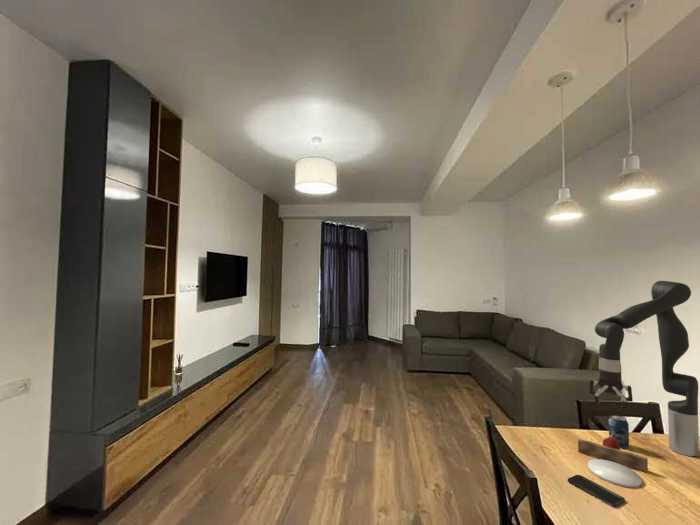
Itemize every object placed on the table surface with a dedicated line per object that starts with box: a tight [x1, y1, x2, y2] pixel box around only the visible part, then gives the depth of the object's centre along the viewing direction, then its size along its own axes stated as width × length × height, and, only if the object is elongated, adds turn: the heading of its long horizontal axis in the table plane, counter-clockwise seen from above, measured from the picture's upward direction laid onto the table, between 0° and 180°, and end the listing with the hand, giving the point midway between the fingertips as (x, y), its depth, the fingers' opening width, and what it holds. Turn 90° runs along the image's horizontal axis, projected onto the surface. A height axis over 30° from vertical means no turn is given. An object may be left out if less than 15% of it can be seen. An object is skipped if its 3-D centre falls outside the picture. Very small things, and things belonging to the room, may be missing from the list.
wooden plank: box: [577, 438, 649, 473], centre depth 131 cm, size 22×2×5 cm, turn 50°
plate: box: [587, 458, 643, 488], centre depth 123 cm, size 16×16×1 cm
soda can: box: [608, 414, 630, 449], centre depth 145 cm, size 7×7×12 cm
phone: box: [567, 474, 626, 508], centre depth 112 cm, size 8×1×15 cm
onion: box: [602, 435, 621, 450], centre depth 136 cm, size 6×6×8 cm
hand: (610, 407), depth 137 cm, fingers open, 8 cm apart
